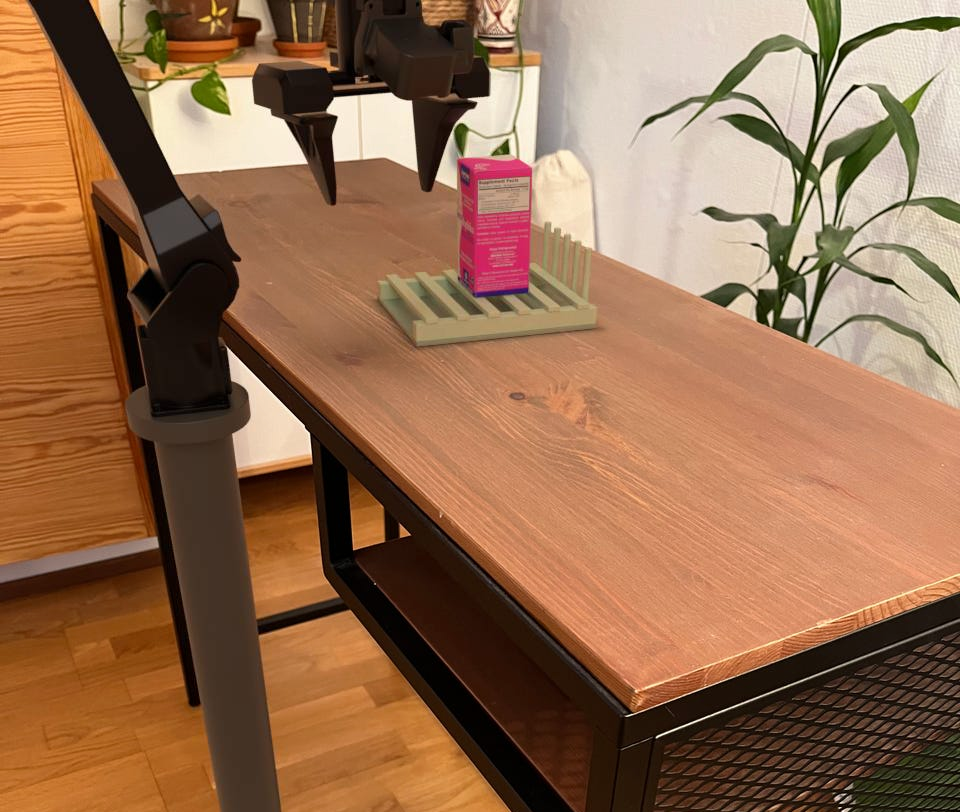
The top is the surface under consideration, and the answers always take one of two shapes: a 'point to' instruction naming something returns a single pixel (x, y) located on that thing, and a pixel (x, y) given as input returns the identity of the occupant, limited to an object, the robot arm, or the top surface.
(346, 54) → the robot arm
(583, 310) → the drying rack
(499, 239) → the supplement box
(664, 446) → the top surface
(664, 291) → the top surface
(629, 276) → the top surface
